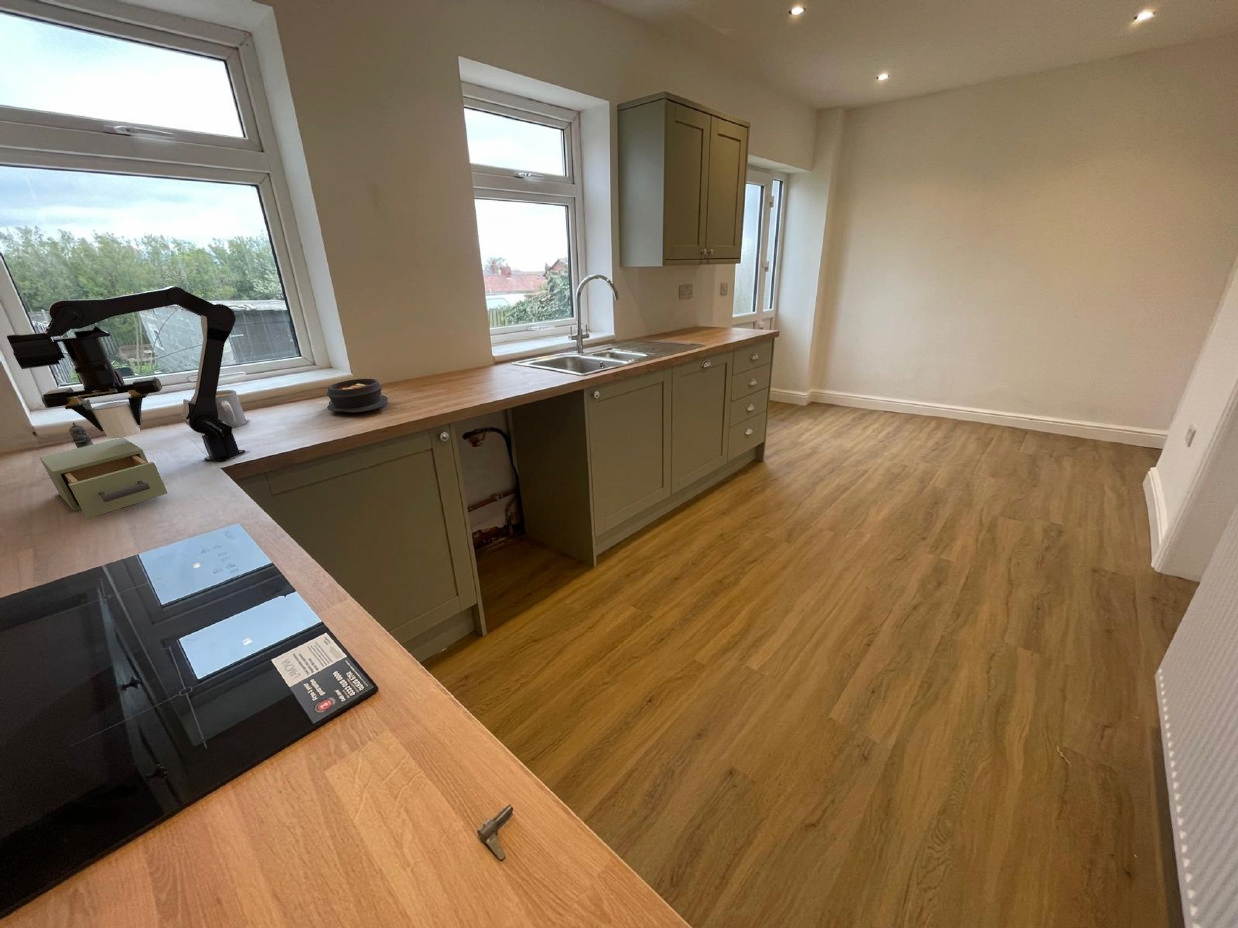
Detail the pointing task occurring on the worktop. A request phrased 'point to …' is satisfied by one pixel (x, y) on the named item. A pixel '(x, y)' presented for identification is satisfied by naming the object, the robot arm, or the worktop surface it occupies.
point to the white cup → (116, 419)
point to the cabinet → (85, 462)
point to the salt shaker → (80, 436)
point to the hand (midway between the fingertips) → (122, 428)
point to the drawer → (114, 484)
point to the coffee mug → (230, 408)
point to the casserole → (356, 396)
